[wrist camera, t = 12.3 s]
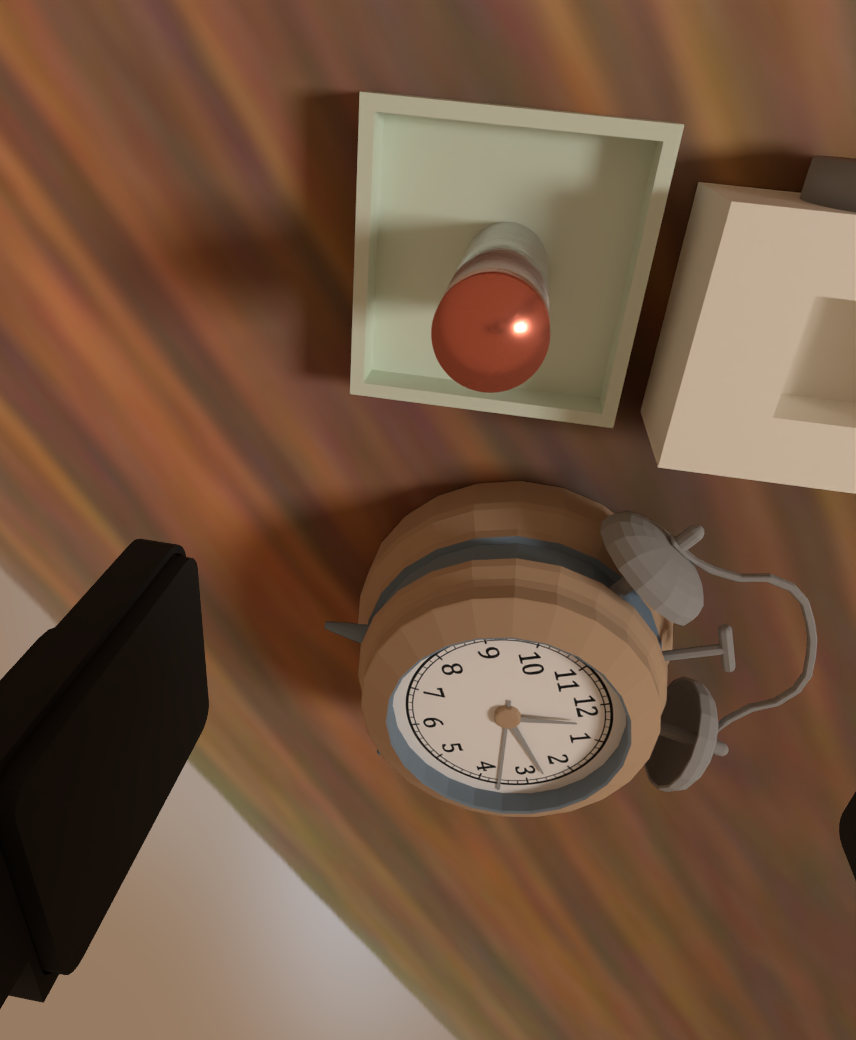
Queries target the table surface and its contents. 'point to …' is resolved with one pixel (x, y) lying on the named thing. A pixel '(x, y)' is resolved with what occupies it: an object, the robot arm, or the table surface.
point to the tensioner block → (762, 336)
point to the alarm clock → (539, 650)
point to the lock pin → (495, 311)
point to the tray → (504, 198)
